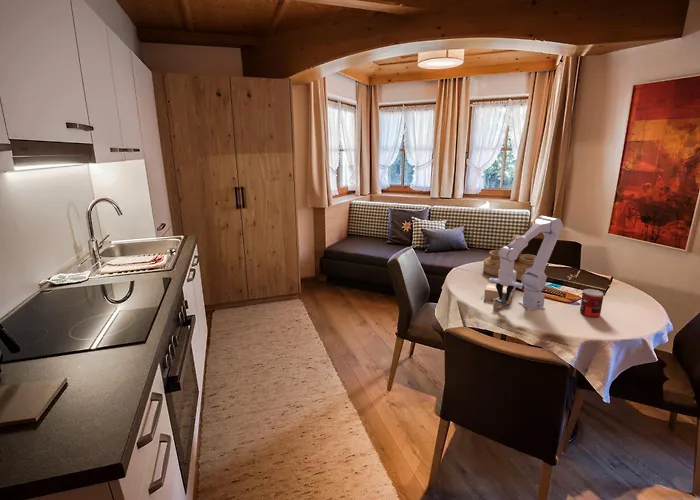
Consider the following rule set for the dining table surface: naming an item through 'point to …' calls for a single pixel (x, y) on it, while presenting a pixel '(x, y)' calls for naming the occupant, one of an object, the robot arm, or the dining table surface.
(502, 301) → the tan cardboard box
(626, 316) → the dining table surface
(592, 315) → the canned food
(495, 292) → the carton
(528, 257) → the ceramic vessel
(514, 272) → the small box
